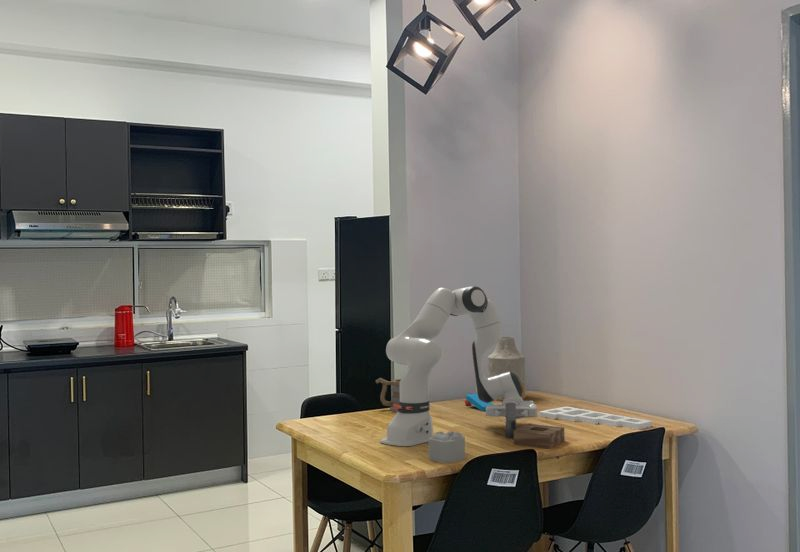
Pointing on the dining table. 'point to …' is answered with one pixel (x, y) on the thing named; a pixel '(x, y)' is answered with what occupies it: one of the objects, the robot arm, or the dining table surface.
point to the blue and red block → (476, 402)
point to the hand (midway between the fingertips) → (510, 414)
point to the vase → (507, 361)
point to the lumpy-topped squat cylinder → (447, 447)
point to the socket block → (539, 435)
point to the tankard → (394, 388)
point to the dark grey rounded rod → (510, 419)
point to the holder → (595, 417)
